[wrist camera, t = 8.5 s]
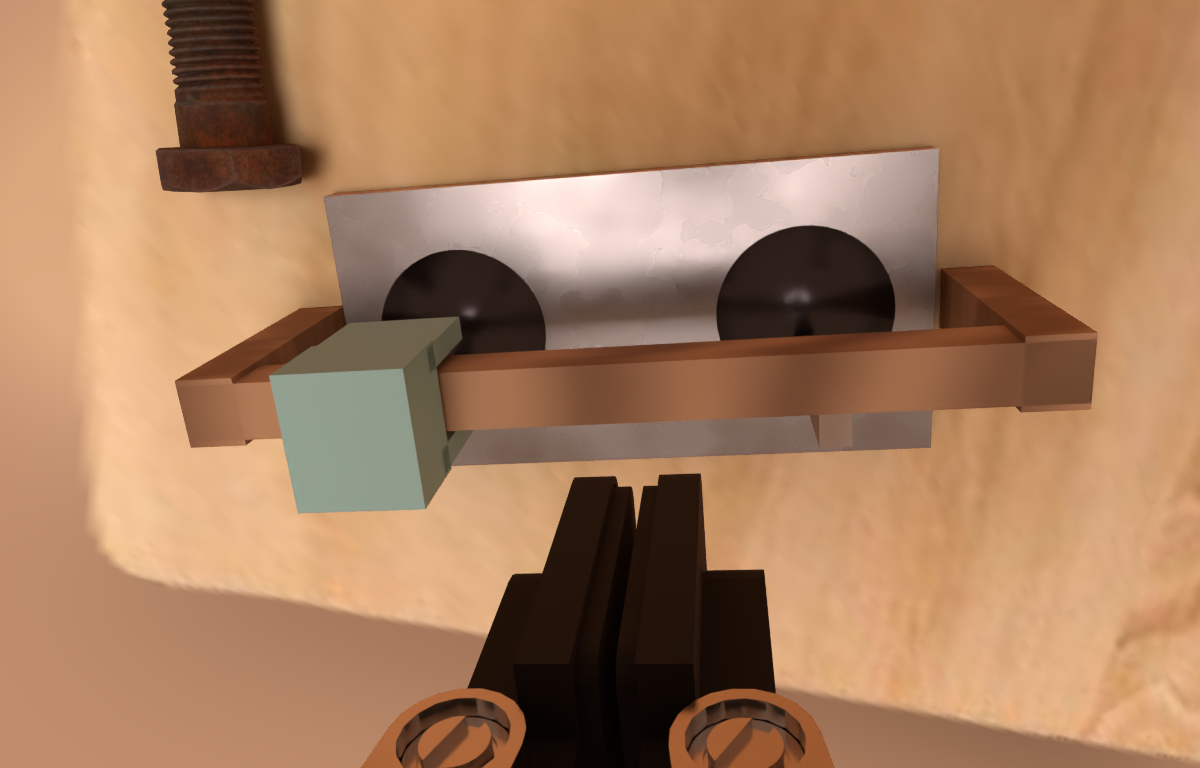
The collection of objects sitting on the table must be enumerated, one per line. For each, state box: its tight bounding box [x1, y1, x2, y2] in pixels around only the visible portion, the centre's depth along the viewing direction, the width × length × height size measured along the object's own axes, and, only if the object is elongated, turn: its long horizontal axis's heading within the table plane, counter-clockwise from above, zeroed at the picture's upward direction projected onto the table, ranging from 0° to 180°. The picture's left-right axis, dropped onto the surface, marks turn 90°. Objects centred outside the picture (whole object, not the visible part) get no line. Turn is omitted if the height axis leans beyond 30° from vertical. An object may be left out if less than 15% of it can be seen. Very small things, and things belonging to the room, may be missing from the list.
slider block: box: [269, 317, 474, 513], centre depth 32 cm, size 4×4×12 cm
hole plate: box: [324, 146, 939, 466], centre depth 38 cm, size 24×12×1 cm, turn 95°
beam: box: [175, 266, 1097, 448], centre depth 34 cm, size 29×3×10 cm, turn 95°
